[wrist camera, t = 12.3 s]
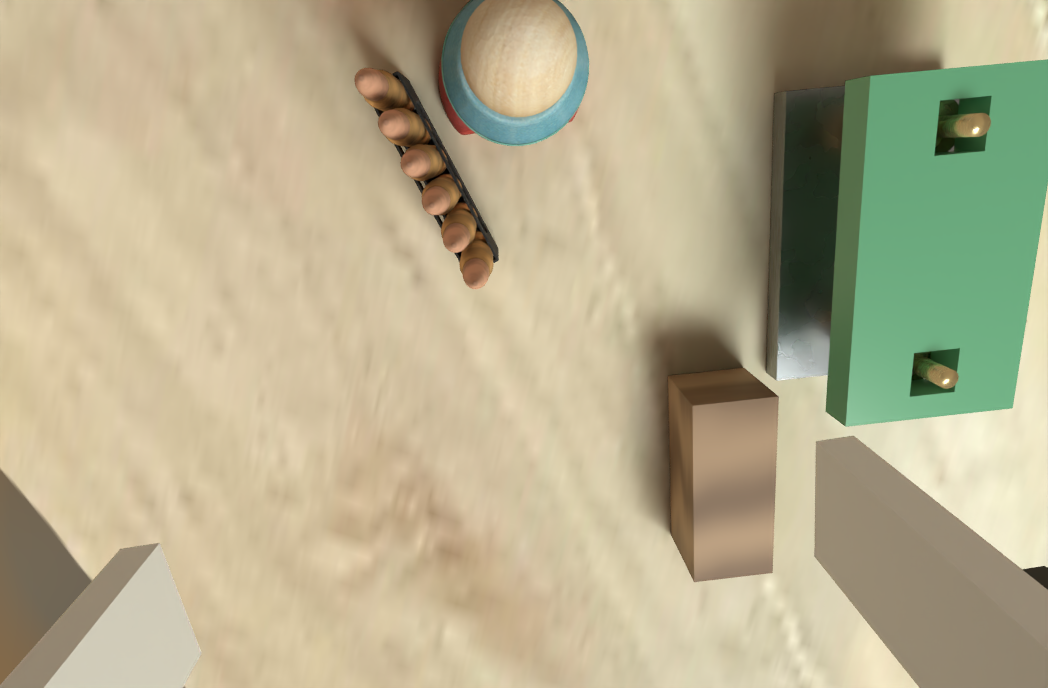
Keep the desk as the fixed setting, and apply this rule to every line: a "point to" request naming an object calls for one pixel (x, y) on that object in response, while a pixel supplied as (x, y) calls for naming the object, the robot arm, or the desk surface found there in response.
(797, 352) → the chassis
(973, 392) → the board
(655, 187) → the desk surface
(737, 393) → the stand
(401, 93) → the ammunition clip
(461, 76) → the colourful wooden toy set
